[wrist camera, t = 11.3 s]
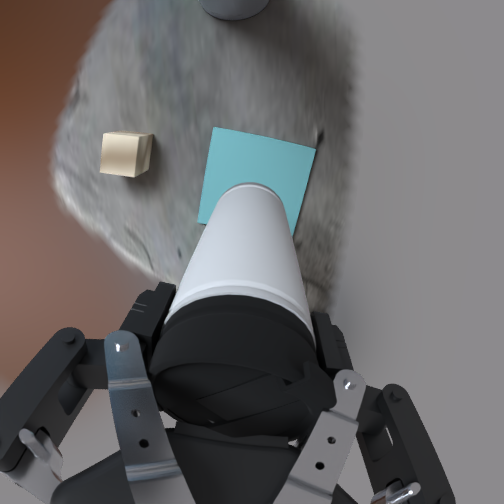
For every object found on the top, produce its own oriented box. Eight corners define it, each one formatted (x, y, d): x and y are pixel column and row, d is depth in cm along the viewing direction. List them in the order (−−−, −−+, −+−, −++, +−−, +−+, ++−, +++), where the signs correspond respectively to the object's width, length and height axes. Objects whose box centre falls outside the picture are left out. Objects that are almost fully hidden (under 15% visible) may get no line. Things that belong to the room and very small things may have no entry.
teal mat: (214, 127, 34) (213, 127, 33) (315, 148, 35) (315, 149, 34) (198, 221, 39) (197, 222, 39) (290, 239, 40) (290, 241, 40)
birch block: (121, 130, 34) (103, 133, 30) (153, 133, 34) (139, 136, 30) (117, 165, 36) (100, 172, 32) (148, 169, 36) (134, 177, 32)
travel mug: (301, 220, 26) (367, 427, 8) (243, 259, 28) (221, 470, 10) (260, 164, 24) (263, 324, 6) (201, 208, 26) (100, 400, 8)
